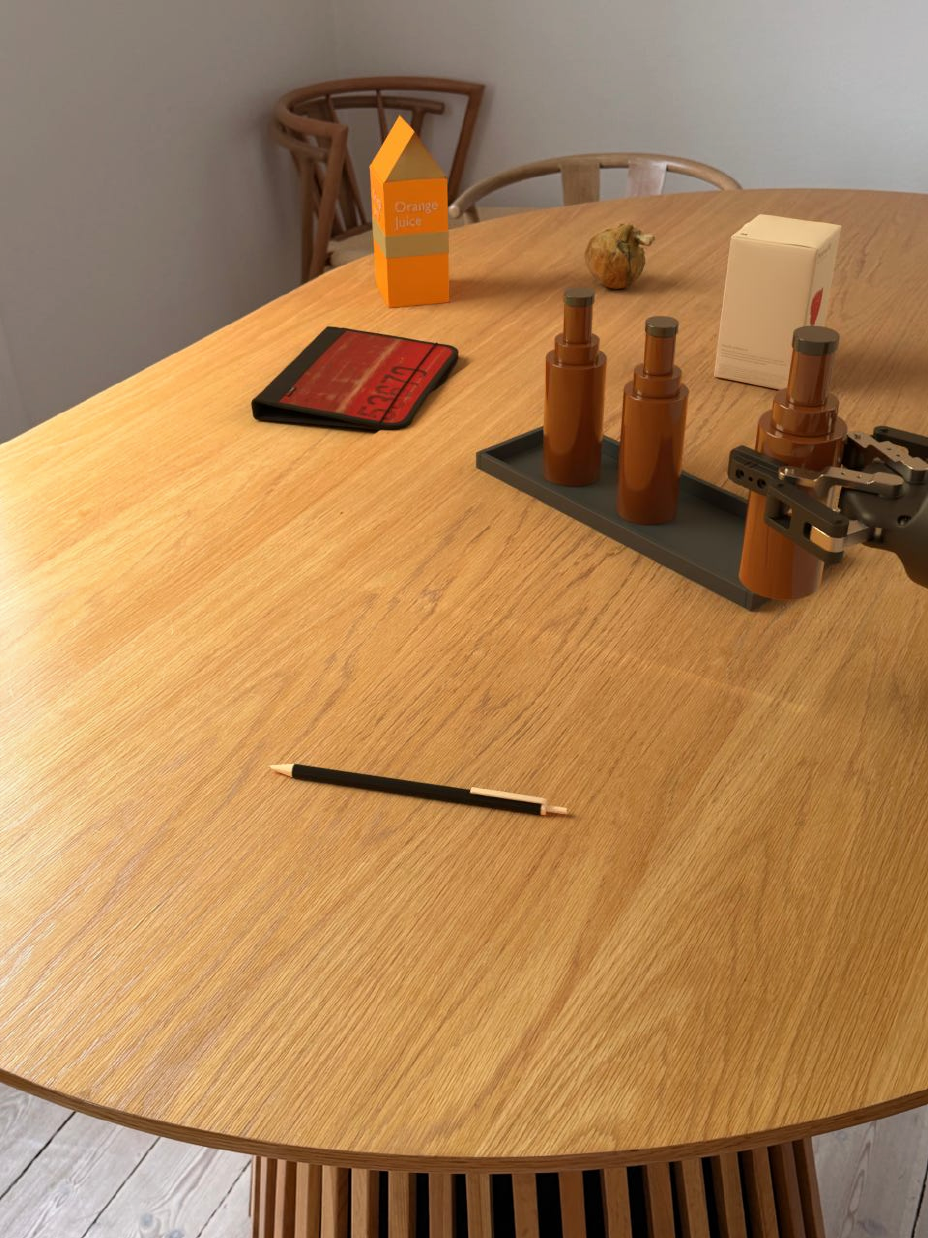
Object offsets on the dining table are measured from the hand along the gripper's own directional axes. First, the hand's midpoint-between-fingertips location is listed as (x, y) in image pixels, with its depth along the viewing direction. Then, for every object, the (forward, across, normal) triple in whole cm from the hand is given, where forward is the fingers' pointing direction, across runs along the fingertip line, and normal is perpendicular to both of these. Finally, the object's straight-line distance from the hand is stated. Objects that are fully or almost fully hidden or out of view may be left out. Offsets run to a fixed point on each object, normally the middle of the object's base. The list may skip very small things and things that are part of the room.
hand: (763, 446), depth 76 cm
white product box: (+31, +44, -18) cm, 57 cm away
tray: (+19, +12, -17) cm, 28 cm away
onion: (+61, +52, -18) cm, 82 cm away
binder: (+57, +10, -18) cm, 60 cm away
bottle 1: (+28, +11, -17) cm, 34 cm away
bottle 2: (+19, +12, -17) cm, 28 cm away
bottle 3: (-3, 0, -8) cm, 9 cm away
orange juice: (+76, +31, -18) cm, 84 cm away
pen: (+5, -25, -17) cm, 31 cm away
